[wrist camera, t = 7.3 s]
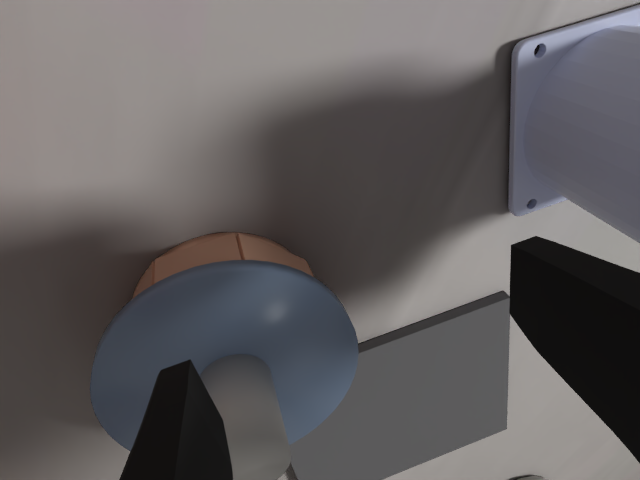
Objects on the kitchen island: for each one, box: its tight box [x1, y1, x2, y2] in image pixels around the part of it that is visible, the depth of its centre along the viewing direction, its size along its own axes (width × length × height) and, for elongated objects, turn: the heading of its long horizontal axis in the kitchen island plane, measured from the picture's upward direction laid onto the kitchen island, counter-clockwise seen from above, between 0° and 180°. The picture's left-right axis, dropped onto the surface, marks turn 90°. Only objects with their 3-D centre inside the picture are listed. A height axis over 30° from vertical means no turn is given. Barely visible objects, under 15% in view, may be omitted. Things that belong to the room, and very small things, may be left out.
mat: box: [289, 291, 510, 480], centre depth 28 cm, size 14×12×1 cm
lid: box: [90, 260, 359, 480], centre depth 17 cm, size 10×10×4 cm
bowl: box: [132, 232, 314, 299], centre depth 20 cm, size 8×8×3 cm
